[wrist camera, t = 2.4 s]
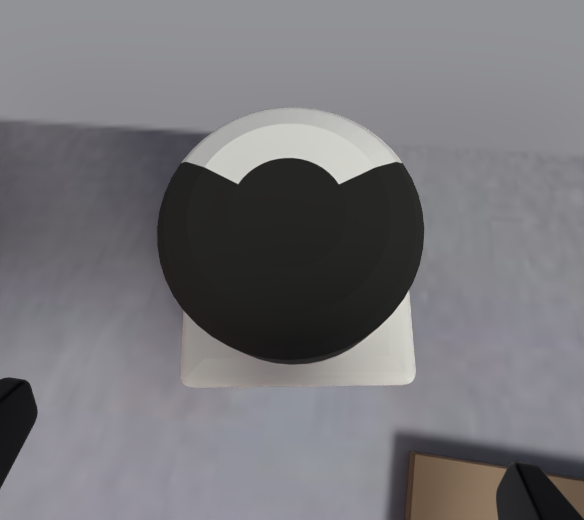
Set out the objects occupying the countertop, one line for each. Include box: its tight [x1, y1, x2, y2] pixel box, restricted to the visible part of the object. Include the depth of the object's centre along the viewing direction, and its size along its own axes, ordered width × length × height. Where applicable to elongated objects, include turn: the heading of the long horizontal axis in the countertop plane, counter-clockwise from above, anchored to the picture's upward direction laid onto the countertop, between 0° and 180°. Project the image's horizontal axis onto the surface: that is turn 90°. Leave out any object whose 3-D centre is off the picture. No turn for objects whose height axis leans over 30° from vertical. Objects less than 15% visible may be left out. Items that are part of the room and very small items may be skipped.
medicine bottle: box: [157, 107, 424, 388], centre depth 15 cm, size 7×7×12 cm
